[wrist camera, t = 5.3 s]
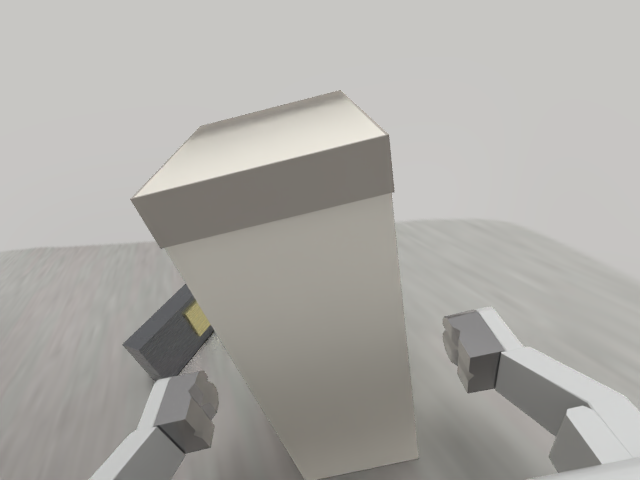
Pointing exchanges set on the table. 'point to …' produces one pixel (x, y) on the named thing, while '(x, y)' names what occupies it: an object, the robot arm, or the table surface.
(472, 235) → the table surface
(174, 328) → the rail
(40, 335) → the table surface
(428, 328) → the table surface
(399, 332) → the carton
